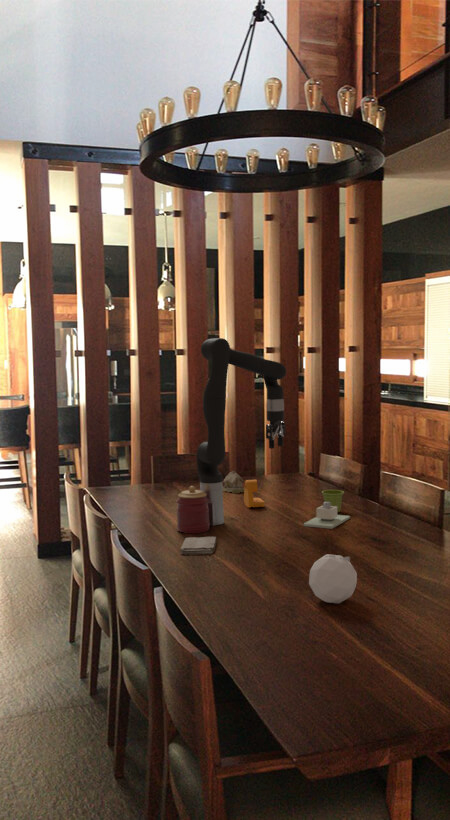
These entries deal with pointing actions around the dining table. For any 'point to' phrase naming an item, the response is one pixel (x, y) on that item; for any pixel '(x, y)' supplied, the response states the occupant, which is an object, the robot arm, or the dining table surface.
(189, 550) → the washcloth
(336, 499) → the plant pot
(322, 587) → the geodesic sphere
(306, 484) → the dining table surface
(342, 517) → the stand
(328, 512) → the white hollow square block
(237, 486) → the ceramic model
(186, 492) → the canister
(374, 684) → the dining table surface
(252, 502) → the bracket
